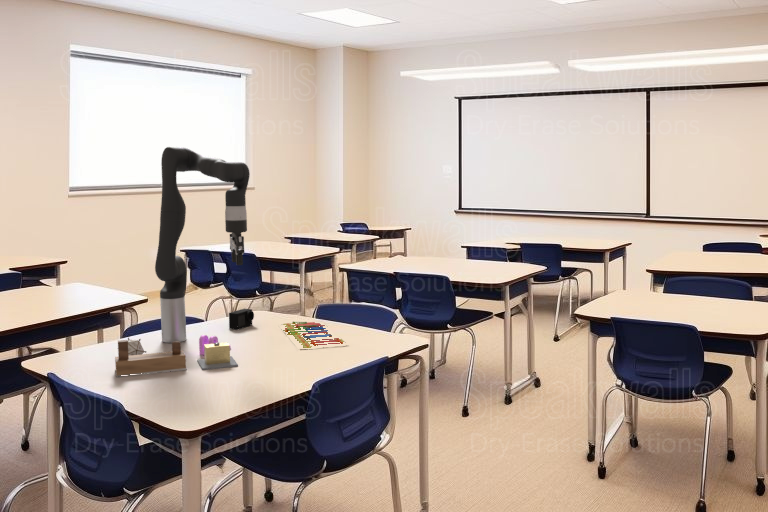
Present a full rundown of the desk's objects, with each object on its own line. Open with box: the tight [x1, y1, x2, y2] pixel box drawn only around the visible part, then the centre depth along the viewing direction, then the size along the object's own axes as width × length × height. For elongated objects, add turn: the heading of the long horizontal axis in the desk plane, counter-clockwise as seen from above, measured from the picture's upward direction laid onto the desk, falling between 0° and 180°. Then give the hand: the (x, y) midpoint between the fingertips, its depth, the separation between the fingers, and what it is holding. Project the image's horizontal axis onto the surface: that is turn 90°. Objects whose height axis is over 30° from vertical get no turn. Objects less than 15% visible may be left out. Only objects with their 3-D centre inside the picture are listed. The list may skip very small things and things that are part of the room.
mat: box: [196, 355, 239, 371], centre depth 256 cm, size 12×12×1 cm
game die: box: [127, 337, 147, 356], centre depth 259 cm, size 9×8×10 cm
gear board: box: [282, 321, 345, 348], centre depth 298 cm, size 45×2×19 cm
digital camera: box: [228, 308, 255, 331], centre depth 313 cm, size 10×5×7 cm, turn 153°
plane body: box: [114, 339, 188, 377], centre depth 247 cm, size 7×22×11 cm, turn 112°
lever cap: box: [203, 342, 231, 365], centre depth 256 cm, size 4×8×7 cm, turn 112°
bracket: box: [198, 334, 231, 356], centre depth 273 cm, size 13×6×7 cm, turn 156°
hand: (237, 263), depth 266 cm, fingers open, 8 cm apart
